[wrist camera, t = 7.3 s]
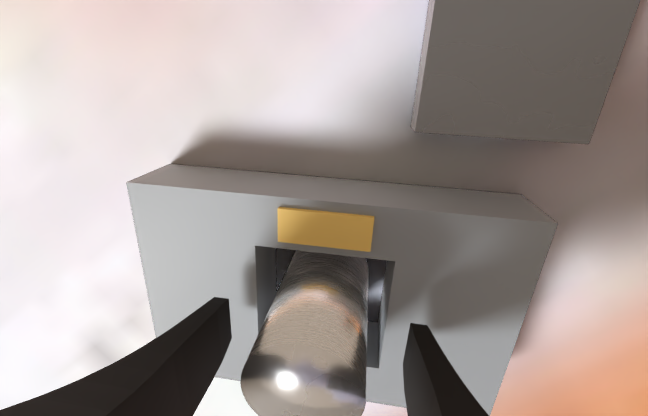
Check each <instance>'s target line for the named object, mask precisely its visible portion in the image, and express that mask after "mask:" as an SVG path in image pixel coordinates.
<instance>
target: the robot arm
mask: <svg viewBox="0 0 648 416" xmlns="http://www.w3.org/2000/svg"><path fill="white" fill-rule="evenodd" d="M231 339H232V333H231V320H230V307H229V299H227V298H219V297H214V298H212V299H211V300H209V301H208V302H207V303H205V304H204V305H203V306H201V307H200V308H198V309H197V310H196V311H194V312H193V313H192V314H190V315H189V316H188V317H186V318H185V319H183V320H182V321H181V322H179V323H178V324H176V325H175V326H174V327H172V328H171V329H169V330H168V331H166V332H165V333H163V334H162V335H160V336H159V337H157V338H155V339H154V340H152V341H151V342H149V343H148V344H146V345H145V346H143V347H141V348H140V349H138V350H136V351H135V352H133V353H131V354H129V355H128V356H126V357H124V358H122V359H120V360H119V361H117V362H115V363H113V364H111V365H109V366H107V367H105V368H103V369H101V370H99V371H97V372H94V373H92V374H90V375H88V376H86V377H84V378H82V379H80V380H78V381H75V382H73V383H71V384H68V385H66V386H64V387H61V388H59V389H56V390H54V391H51V392H49V393H47V394H44V395H41V396H39V397H36V398H33V399H31V400H28V401H25V402H22V403H19V404H16V405H14V406H11V407H8V408H5V409H2V410H0V416H193V414H194V412H195V411H196V409H197V407H198V405H199V403H200V402H201V400H202V398H203V396H204V394H205V393H206V391H207V389H208V387H209V385H210V384H211V382H212V380H213V378H214V376H215V375H216V373H217V371H218V369H219V367H220V365H221V363H222V361H223V359H224V357H225V354H226V352H227V349H228V347H229V344H230V342H231ZM403 379H404V393H405V400H406V406H407V413H408V416H489V415H488V414H487V413H486V411H485V410H484V409H483V408H482V406H481V405H480V404H479V403H478V401H477V400H476V399H475V397H474V396H473V395H472V393H471V392H470V391H469V389H468V388H467V387H466V385H465V384H464V382H463V381H462V380H461V378H460V377H459V375H458V374H457V372H456V371H455V369H454V368H453V366H452V365H451V363H450V362H449V360H448V359H447V357H446V356H445V354H444V352H443V351H442V349H441V347H440V346H439V344H438V342H437V341H436V339H435V337H434V335H433V334H432V332H431V330H430V328H429V327H428V326H427V325H423V324H415V323H410V328H409V333H408V338H407V344H406V349H405V354H404V359H403Z"/></svg>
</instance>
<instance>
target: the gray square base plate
mask: <svg viewBox="0 0 648 416" xmlns="http://www.w3.org/2000/svg"><path fill="white" fill-rule="evenodd" d="M639 3H640V0H429V4H428V11H427V18H426V24H425V31H424V38H423V45H422V52H421V59H420V65H419V72H418V79H417V86H416V93H415V100H414V106H413V113H412V120H411V128H412V129H413V130H414V132H420V133H434V134H448V135H463V136H477V137H492V138H506V139H521V140H535V141H549V142H564V143H578V144H589V142H590V140H591V137H592V134H593V131H594V128H595V126H596V123H597V120H598V117H599V114H600V112H601V109H602V106H603V103H604V101H605V98H606V95H607V92H608V89H609V87H610V84H611V81H612V78H613V75H614V73H615V70H616V67H617V64H618V61H619V59H620V56H621V53H622V50H623V47H624V45H625V42H626V39H627V36H628V34H629V31H630V28H631V25H632V22H633V20H634V17H635V14H636V11H637V8H638V6H639Z"/></svg>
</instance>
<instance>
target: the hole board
mask: <svg viewBox="0 0 648 416" xmlns="http://www.w3.org/2000/svg"><path fill="white" fill-rule="evenodd" d="M126 184H127V189H128V194H129V199H130V204H131V210H132V215H133V220H134V225H135V231H136V236H137V241H138V246H139V251H140V257H141V262H142V267H143V272H144V278H145V283H146V288H147V293H148V298H149V304H150V309H151V314H152V319H153V324H154V330H155V335H156V338H157V337H159V336H160V335H162V334H163V333H165V332H166V331H168V330H169V329H171V328H172V327H174V326H175V325H176V324H178V323H179V322H181V321H182V320H183V319H185V318H186V317H188V316H189V315H190V314H192V313H193V312H194V311H196V310H197V309H198V308H200V307H201V306H203V305H204V304H205V303H207V302H208V301H209V300H211V299H212V298H214V297H219V298H227V299H229V307H230V320H231V333H232V339H231V342H230V344H229V347H228V349H227V352H226V354H225V357H224V359H223V361H222V363H221V365H220V367H219V369H218V371H217V373H216V375H215V376H214V377H218V378H224V379H230V380H237V381H241V373H242V370H243V368H244V365H245V363H246V361H247V358H248V356H249V354H250V352H251V350H252V347H253V345H254V343H255V341H256V338H257V336H258V334H259V332H260V329H261V327H262V325H263V323H264V320H265V318H266V316H267V314H268V311H269V309H270V307H271V305H272V303H273V300H274V298H275V296H276V248H281V249H290V250H299V251H307V252H316V253H325V254H334V255H343V256H352V257H361V258H369V259H378V260H387V262H386V269H385V276H384V283H383V290H382V298H381V305H380V312H379V319H378V322H371V321H368V324H367V369H366V401H367V402H373V403H379V404H386V405H392V406H398V407H404V408H407V406H406V400H405V393H404V379H403V359H404V354H405V349H406V344H407V338H408V333H409V328H410V323H415V324H423V325H427V326H428V327H429V328H430V330H431V332H432V334H433V335H434V337H435V339H436V341H437V342H438V344H439V346H440V347H441V349H442V351H443V352H444V354H445V356H446V357H447V359H448V360H449V362H450V363H451V365H452V366H453V368H454V369H455V371H456V372H457V374H458V375H459V377H460V378H461V380H462V381H463V382H464V384H465V385H466V387H467V388H468V389H469V391H470V392H471V393H472V395H473V396H474V397H475V399H476V400H477V401H478V403H479V404H480V405H481V406H482V408H483V409H484V410H485V411H486V413H487V414H488V415H489V416H490V414H491V411H492V408H493V405H494V402H495V400H496V397H497V394H498V391H499V388H500V386H501V383H502V380H503V377H504V374H505V371H506V369H507V366H508V363H509V360H510V357H511V355H512V352H513V349H514V346H515V343H516V341H517V338H518V335H519V332H520V329H521V326H522V324H523V321H524V318H525V315H526V312H527V310H528V307H529V304H530V301H531V298H532V295H533V293H534V290H535V287H536V284H537V281H538V279H539V276H540V273H541V270H542V267H543V264H544V262H545V259H546V256H547V253H548V250H549V248H550V245H551V242H552V239H553V236H554V234H555V231H556V228H557V225H558V223H557V222H556V221H554V220H553V219H552V218H551V217H549V216H548V215H547V214H546V213H544V212H543V211H542V210H540V209H539V208H538V207H537V206H535V205H534V204H533V203H531V202H530V201H529V200H528V199H526V198H525V197H524V196H522V195H521V194H511V193H499V192H488V191H476V190H465V189H453V188H442V187H430V186H419V185H407V184H396V183H384V182H373V181H361V180H350V179H338V178H327V177H315V176H304V175H292V174H281V173H269V172H258V171H246V170H235V169H223V168H212V167H200V166H189V165H177V164H168V165H166V166H164V167H161V168H159V169H157V170H154V171H152V172H149V173H147V174H145V175H142V176H140V177H138V178H135V179H133V180H131V181H128V182H126Z"/></svg>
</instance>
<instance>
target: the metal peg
mask: <svg viewBox="0 0 648 416" xmlns="http://www.w3.org/2000/svg"><path fill="white" fill-rule="evenodd" d="M368 279H369V270H368V264H367V261H366V259H365V258H361V257H352V256H343V255H334V254H325V253H316V252H307V251H299V250H296V252H295V254H294V256H293V258H292V260H291V262H290V265H289V267H288V269H287V271H286V273H285V276H284V278H283V280H282V282H281V285H280V287H279V289H278V291H277V294H276V296H275V298H274V300H273V303H272V305H271V307H270V309H269V311H268V314H267V316H266V318H265V320H264V323H263V325H262V327H261V329H260V332H259V334H258V336H257V338H256V341H255V343H254V345H253V347H252V350H251V352H250V354H249V356H248V358H247V361H246V363H245V365H244V368H243V370H242V373H241V389H242V392H243V395H244V397H245V399H246V401H247V403H248V404H249V406H250V407H251V408H252V409H253V410H254V411H255V412H256V413H257V414H258V415H259V416H361V415H362V413H363V411H364V408H365V404H366V369H367V324H368Z"/></svg>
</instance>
